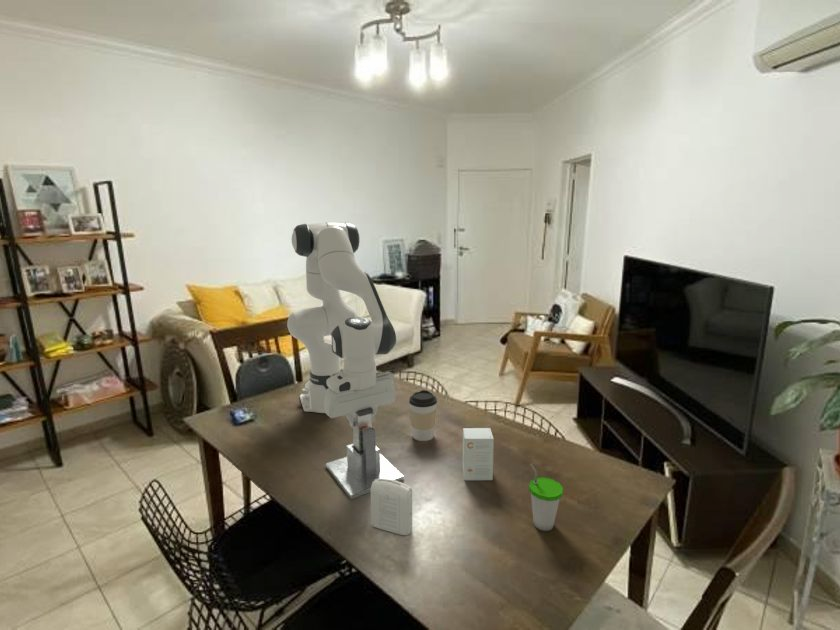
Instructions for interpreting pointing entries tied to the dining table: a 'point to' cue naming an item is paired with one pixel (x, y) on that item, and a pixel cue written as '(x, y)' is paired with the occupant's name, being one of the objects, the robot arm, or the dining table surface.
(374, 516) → the photo printer
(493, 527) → the dining table surface
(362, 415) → the column
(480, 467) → the small box
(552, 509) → the cup
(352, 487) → the stand base
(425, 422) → the coffee cup
